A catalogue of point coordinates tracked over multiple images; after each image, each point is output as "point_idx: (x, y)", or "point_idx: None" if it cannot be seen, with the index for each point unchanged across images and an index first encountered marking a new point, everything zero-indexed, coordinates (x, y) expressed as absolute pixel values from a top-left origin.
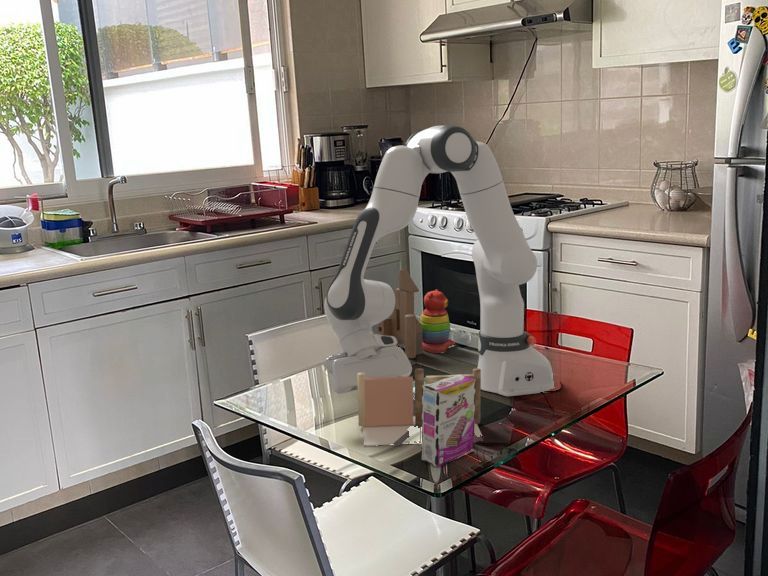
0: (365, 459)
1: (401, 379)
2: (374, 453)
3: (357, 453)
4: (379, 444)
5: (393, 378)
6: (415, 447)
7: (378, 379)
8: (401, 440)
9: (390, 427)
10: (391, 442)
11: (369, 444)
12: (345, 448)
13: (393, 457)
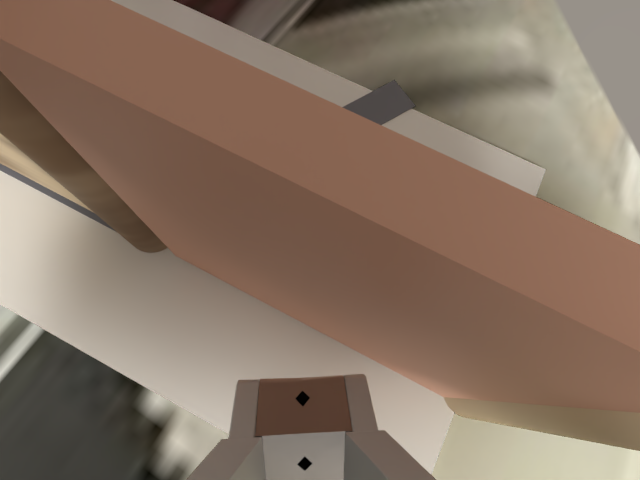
0: (576, 69)
1: (170, 39)
2: (520, 94)
3: (591, 132)
4: (473, 136)
5: (279, 88)
6: (330, 52)
7: (533, 197)
8: (360, 112)
9: None
10: (412, 122)
11: (519, 158)
12: (630, 205)
13: (462, 28)
